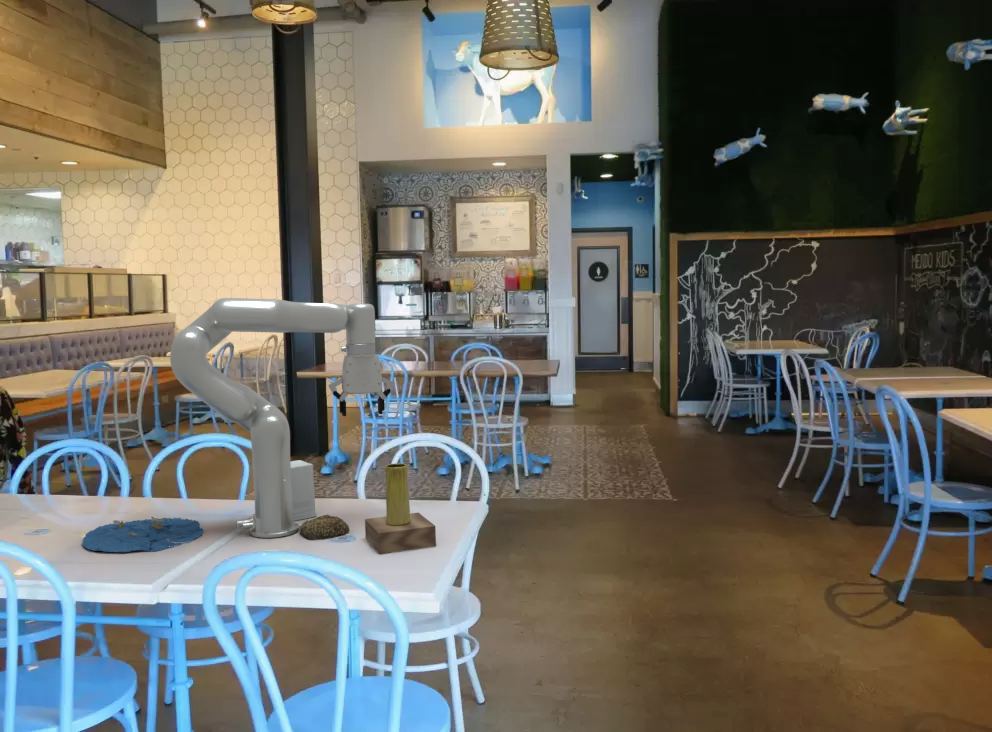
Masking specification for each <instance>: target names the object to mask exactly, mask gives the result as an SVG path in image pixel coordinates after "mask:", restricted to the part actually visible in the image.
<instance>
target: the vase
mask: <svg viewBox="0 0 992 732" xmlns="http://www.w3.org/2000/svg"><path fill="white" fill-rule="evenodd" d="M385 486H386V487H385V502H386V503H385V506H386V507H385V508H386V510H385V511H386V513H385V514H386V516H385V517H386V523H387V524H388V525H405V524H408V523H410V522H411V520H410V514H411V509H410V497H409V496H410V495H409V481H408V464H406V463H401V462H400V463H398V462H397V463H396V462H395V463H389V464H386V465H385Z"/></svg>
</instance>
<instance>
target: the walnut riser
mask: <svg viewBox="0 0 992 732" xmlns="http://www.w3.org/2000/svg"><path fill="white" fill-rule="evenodd" d="M410 520H411V522H410V523H408V524H405V525H388V524H387V523H386V516H379V517H372V518H365V519H364V526H365V527H364V530H365V533H364V534H365V540H366V541H367V542H368V543H369V544H370V545H371V547H373V549H374V550H376V552H377V553H378V554H379V555H383V554H390V553H397V552H403V551H404V552H405V551H410V550H417V549H426V548H432V547H433V548H434V547H436V546H437V537H436V531H437V530H436V525H435V524H434V523H433V522H431V521H430V520H428V519H427V518H426V517H425V516H424V515H422V514H421V513H420V512H414V513H413V512H410Z"/></svg>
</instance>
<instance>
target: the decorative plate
mask: <svg viewBox="0 0 992 732" xmlns="http://www.w3.org/2000/svg"><path fill="white" fill-rule="evenodd" d="M112 522H113V523H109V524H104V525H99V526H98V527H96V528H95V529H93V530H90V531H88V532H87V533H85V535H84V537H83V539H82V542H81V543H82V546H83V547H84V548H86V549H88V550H90V551H92V550H93V552H94V551H95V552H96V551H98V552H104V553H114V552H115V553H130V552H133V551H144V552H158V551H162V550H163V551H164V550H165V549H169V548H174V547H178V546H179V547H180V546H181V545H183V544H184V545H185V544H189V543H191V542H193V541H194V540H195V539H198V538H199V537H202V535H203V532H204V528H203V527H200V525H201V524H200V522H199V521H198V520H194V519H193V520H192V519H189V518H181V517H173V518H171V517H164V518H163V517H161V518H158V517H153V516H151V518H149V519H146V518H145V519H141V520H140V519H139V520H132V521H125V522H124V521H123V520H121V521H120V520H117V519H115V520H113V521H112ZM151 541H152V542H151ZM169 546H170V547H169Z"/></svg>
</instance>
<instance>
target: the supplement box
mask: <svg viewBox="0 0 992 732" xmlns="http://www.w3.org/2000/svg"><path fill="white" fill-rule="evenodd" d="M290 463H291V483H292V505H293V522H296V521H300V520H305V519H310V518H316V515H317V514H316V497H315V495H316V494H315V481H314V480H315V479H314V477H315V476H314V464H313V463H310V462H306V461H303V460H302V459H301V460H300V459H298V460H297V459H296V460H292V461H291V460H290Z"/></svg>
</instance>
